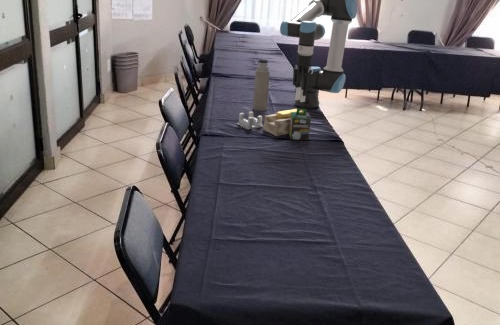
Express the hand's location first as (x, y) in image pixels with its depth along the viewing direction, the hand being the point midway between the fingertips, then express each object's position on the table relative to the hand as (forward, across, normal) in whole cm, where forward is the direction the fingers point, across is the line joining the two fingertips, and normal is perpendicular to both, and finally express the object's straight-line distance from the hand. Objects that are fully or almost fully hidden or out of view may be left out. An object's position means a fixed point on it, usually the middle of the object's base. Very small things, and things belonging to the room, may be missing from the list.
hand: (299, 100), depth 229 cm
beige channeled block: (+14, 0, -10) cm, 18 cm away
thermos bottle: (+15, -36, +4) cm, 39 cm away
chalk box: (+15, +11, -9) cm, 21 cm away
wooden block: (+9, 0, -6) cm, 11 cm away
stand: (+14, -13, -21) cm, 29 cm away
